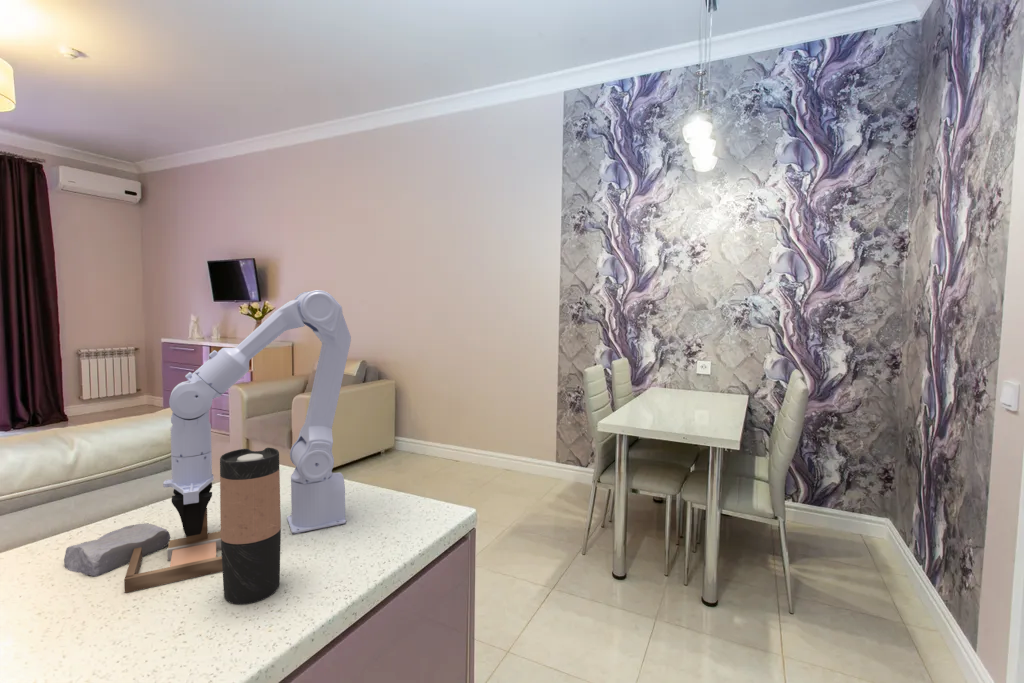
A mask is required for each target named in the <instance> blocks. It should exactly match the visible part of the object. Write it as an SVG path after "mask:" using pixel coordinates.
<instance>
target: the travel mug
mask: <svg viewBox="0 0 1024 683" xmlns="http://www.w3.org/2000/svg"><path fill="white" fill-rule="evenodd" d="M280 474H281V473H280V451H279V450H278V449H277V448H274V447H266V448H264V449H262V450H257V451H256V450H251V449H249V448H239V449H235V450H230V451H229V452H226V453H223V454H222V455H221V456H220V458H219V486H220V488H219V489H220V490H219V491H220V492H219V495H220V498H219V499H220V500H219V501H220V503H219V504H220V505H219V509H220V512H219V514H220V517H219V518H220V521H219V522H220V531H221V550H220V551H221V552H220V553H221V556H222V570H223V571H222V581H223V582H222V585H223V586H222V588H223V597H224V599H225V600H226V601H227V603H230V604H233V605H234V604H235V605H249V604H252V603H257V602H260V601H262V600H265V599H266V598H268V597H270V596H272V595H273V594H275V592H277V590H278V589H279V587H280V583H281V582H280V580H281V578H280V575H281V535H282V534H281V533H282V532H281V531H282V520H281V477H280V476H281V475H280Z"/></svg>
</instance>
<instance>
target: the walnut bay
mask: <svg viewBox="0 0 1024 683" xmlns="http://www.w3.org/2000/svg"><path fill="white" fill-rule="evenodd" d="M142 562H143V557H142V547H141V548H135V549H134V551H133V554H132V557H131V560H130V563H128V566H127V570H126V573H125V576H124V580H123V581H124V582H123V583H124V594H128V593H131V592H136V591H141V590H145V589H149V588H154V587H157V586H164V585H167V584H172V583H173V584H174V583H176V582H181V581H185V580H190V579H194V578H199V577H202V576H203V577H204V576H208V575H213V574H216V573H221V572H222V573H223V570H222V555H221V556H216V557H215V558H210V559H205V560H201V561H196V562H191V563H186V564H182V565H177V566H172V567H170V566H168V567H164V568H158V569H154V570H149V571H144V572H140V569H141V565H142Z"/></svg>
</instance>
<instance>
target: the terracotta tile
mask: <svg viewBox="0 0 1024 683" xmlns="http://www.w3.org/2000/svg"><path fill="white" fill-rule="evenodd" d="M215 557H217V551H216V542H213V543H208V544H203V545H197V546H192V547H187V548H182V549H177V550H173V551H172V557H171V560H170V565H169V567H172V566H177V565H182V564H186V563H191V562H196V561H201V560H205V559H210V558H215Z"/></svg>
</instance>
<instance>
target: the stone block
mask: <svg viewBox="0 0 1024 683" xmlns="http://www.w3.org/2000/svg"><path fill="white" fill-rule="evenodd" d="M169 540H171V534H170V532H169V530H167V529H166V528H163V527H162V526H158V525H155V524H152V523H149V522H146V523H145V522H144V523H136V524H131V525H130V524H129V525H127V526H124V527H121V528H119V529H115V530H112V531H110V532H108V533H105V534H104V535H102V536H100V537H98V538H97V539H93V540H88V541H84V542H80V543H79V544H73V545H70V546H68V547H66V549H65V554H64V558H63V562H64V568H66V569H67V570H68V571H70V572H74V573H81V574H83V575H86V576H88V575H89V576H91V577H99V576H102V575H104V574H107V573H110V572H112V571H113V570H114V571H115V570H116V569H119V568H121V567H123V566H126V565H129V563H130V560H131V557H132V554H133V551H134V549H135V548H141V547H142V558H145V557H146V556H148V555H151V554H153V553H156V552H158V551H161V550H163V549H164V548H165V547H166V546H168V545H169Z"/></svg>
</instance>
